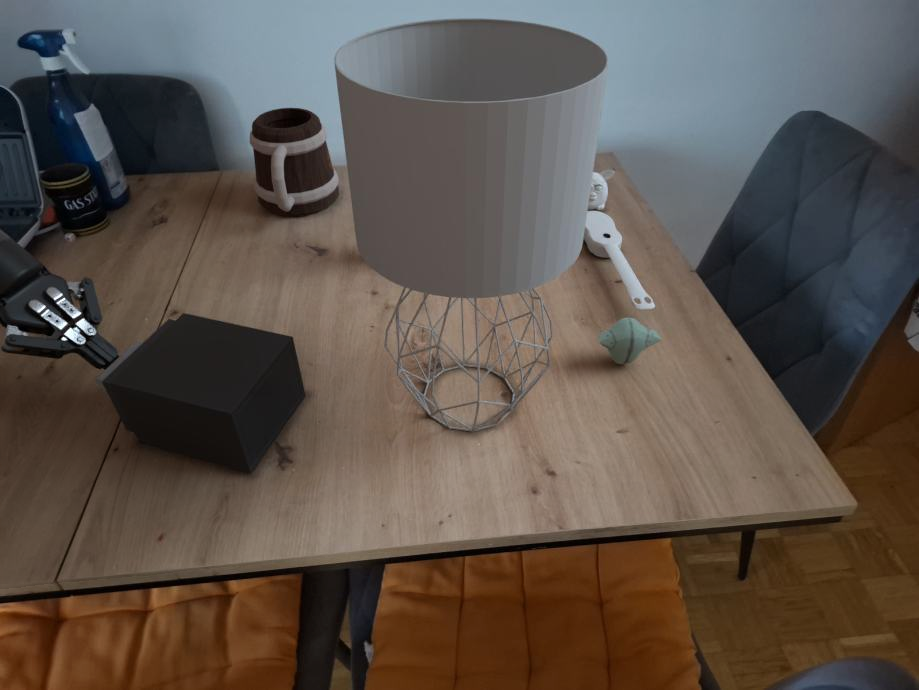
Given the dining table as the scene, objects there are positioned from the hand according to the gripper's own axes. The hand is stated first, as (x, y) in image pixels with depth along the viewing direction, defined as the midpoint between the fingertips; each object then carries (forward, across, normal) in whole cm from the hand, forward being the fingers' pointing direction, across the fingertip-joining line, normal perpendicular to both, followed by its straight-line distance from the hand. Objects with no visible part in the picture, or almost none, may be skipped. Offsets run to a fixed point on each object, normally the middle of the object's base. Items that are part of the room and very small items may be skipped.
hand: (113, 364), depth 76 cm
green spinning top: (+44, -24, +37) cm, 63 cm away
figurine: (+37, -66, +29) cm, 81 cm away
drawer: (+10, 0, +4) cm, 10 cm away
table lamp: (+32, -12, +25) cm, 42 cm away
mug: (+1, -50, -6) cm, 50 cm away
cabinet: (+13, 0, +6) cm, 15 cm away
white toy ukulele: (+42, -46, +34) cm, 71 cm away
